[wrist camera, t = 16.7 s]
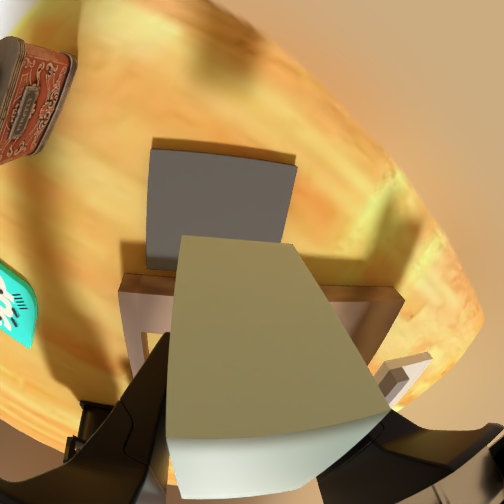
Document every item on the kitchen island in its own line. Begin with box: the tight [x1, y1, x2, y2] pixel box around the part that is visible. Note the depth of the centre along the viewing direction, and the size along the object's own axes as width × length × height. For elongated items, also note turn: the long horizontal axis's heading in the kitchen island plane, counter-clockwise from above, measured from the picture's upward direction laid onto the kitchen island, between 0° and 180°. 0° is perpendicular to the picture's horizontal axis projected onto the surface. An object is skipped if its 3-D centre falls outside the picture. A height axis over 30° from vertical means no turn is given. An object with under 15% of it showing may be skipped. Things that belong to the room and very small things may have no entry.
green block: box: [166, 235, 391, 499], centre depth 8 cm, size 4×6×7 cm, turn 170°
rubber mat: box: [146, 149, 298, 271], centre depth 20 cm, size 10×9×1 cm
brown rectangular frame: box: [118, 273, 405, 378], centre depth 27 cm, size 26×19×2 cm
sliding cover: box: [374, 352, 433, 409], centre depth 23 cm, size 6×18×2 cm, turn 170°
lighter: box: [0, 36, 77, 165], centre depth 9 cm, size 8×3×10 cm, turn 148°
